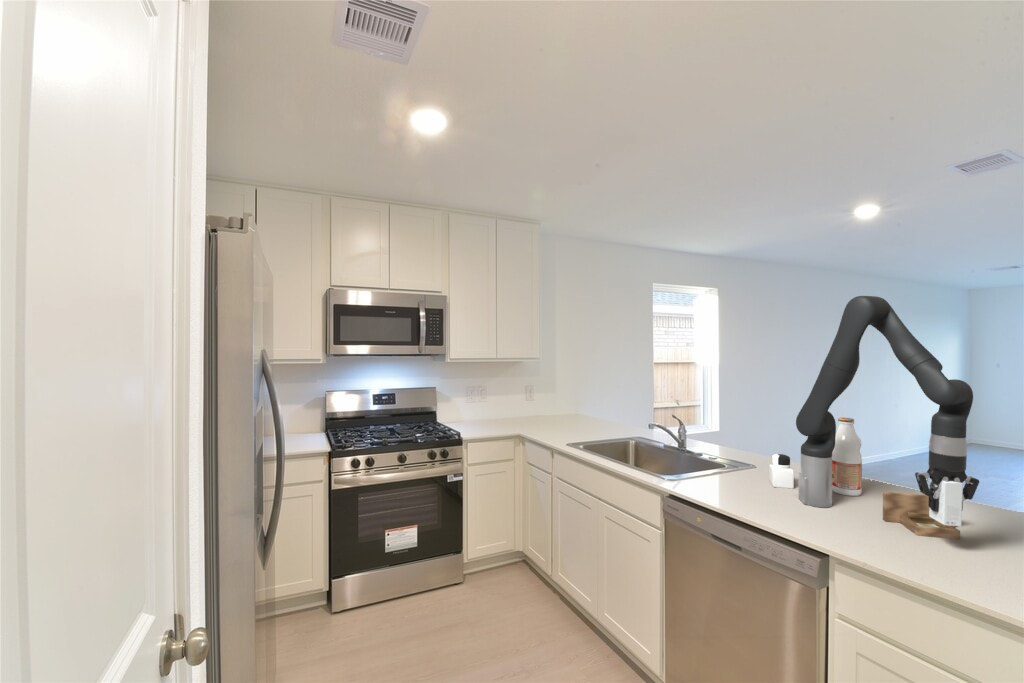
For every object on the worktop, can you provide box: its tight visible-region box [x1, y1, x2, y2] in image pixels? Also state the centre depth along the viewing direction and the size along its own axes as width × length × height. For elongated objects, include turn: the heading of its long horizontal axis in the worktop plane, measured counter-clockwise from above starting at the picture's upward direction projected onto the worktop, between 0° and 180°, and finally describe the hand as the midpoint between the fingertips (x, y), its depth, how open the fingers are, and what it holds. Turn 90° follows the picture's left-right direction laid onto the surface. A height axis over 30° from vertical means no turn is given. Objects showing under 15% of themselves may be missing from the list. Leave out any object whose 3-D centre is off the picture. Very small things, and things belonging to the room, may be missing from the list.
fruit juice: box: [832, 416, 863, 497], centre depth 169 cm, size 9×9×28 cm
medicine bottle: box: [768, 453, 795, 490], centre depth 177 cm, size 7×7×12 cm
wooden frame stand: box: [882, 491, 961, 540], centre depth 136 cm, size 18×11×9 cm, turn 75°
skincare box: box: [929, 478, 964, 527], centre depth 125 cm, size 6×4×12 cm
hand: (945, 511), depth 125 cm, fingers closed on skincare box, 4 cm apart
